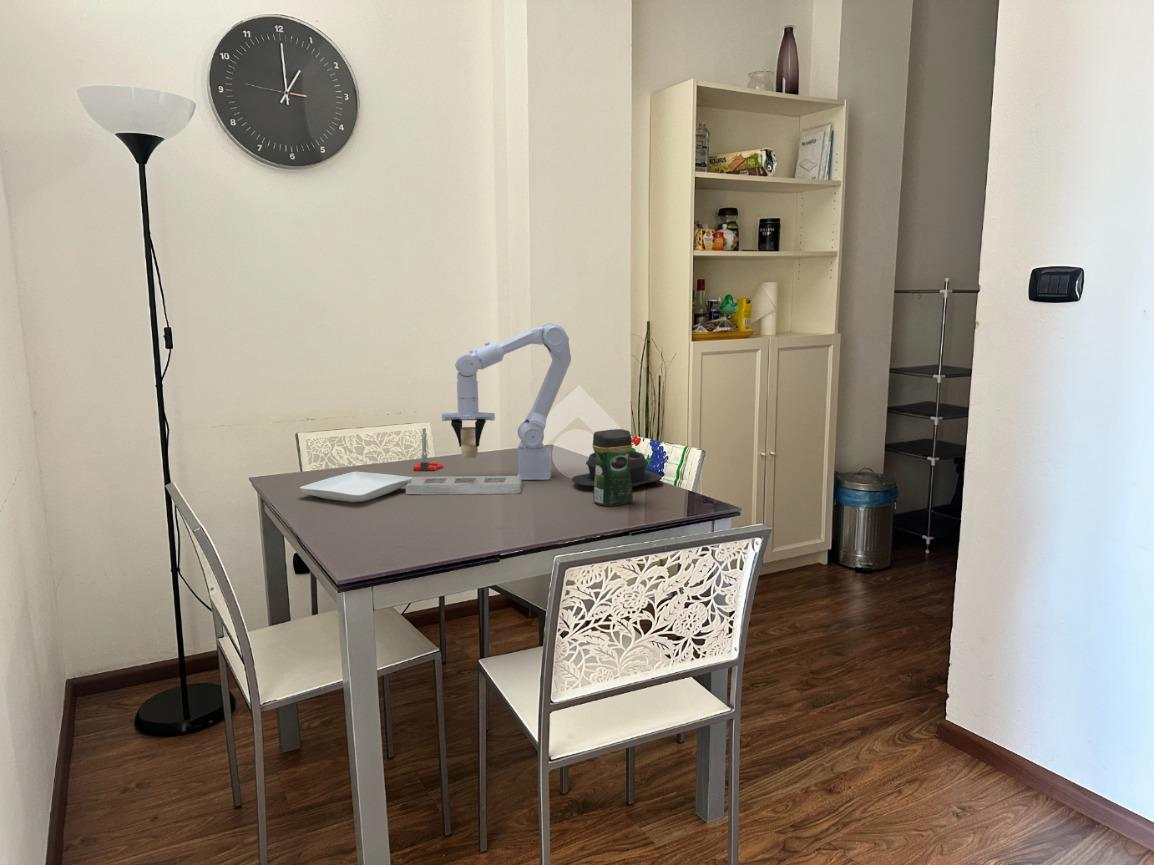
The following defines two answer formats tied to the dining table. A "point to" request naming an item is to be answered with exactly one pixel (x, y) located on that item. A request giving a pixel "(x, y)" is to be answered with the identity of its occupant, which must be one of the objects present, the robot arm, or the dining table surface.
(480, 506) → the dining table surface
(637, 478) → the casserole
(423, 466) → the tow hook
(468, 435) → the peg
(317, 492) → the salad plate
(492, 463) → the dining table surface
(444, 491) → the grey slotted board
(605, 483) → the coffee jar
